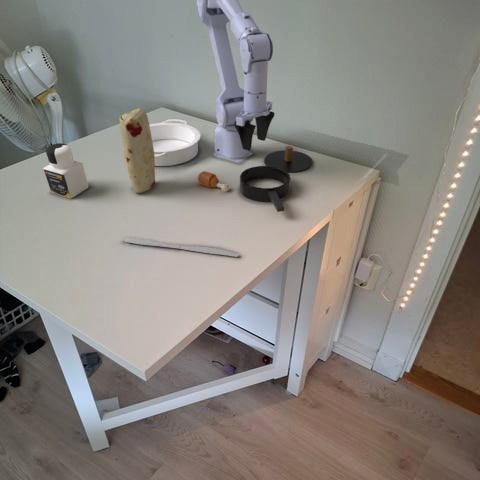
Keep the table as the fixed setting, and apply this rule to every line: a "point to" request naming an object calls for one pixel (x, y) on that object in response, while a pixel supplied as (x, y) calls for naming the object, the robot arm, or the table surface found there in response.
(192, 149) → the pot
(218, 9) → the robot arm
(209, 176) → the drumstick
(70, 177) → the medicine bottle
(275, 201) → the pan handle
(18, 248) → the table surface
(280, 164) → the pan lid
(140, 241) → the butter knife
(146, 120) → the food model
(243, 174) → the pan
